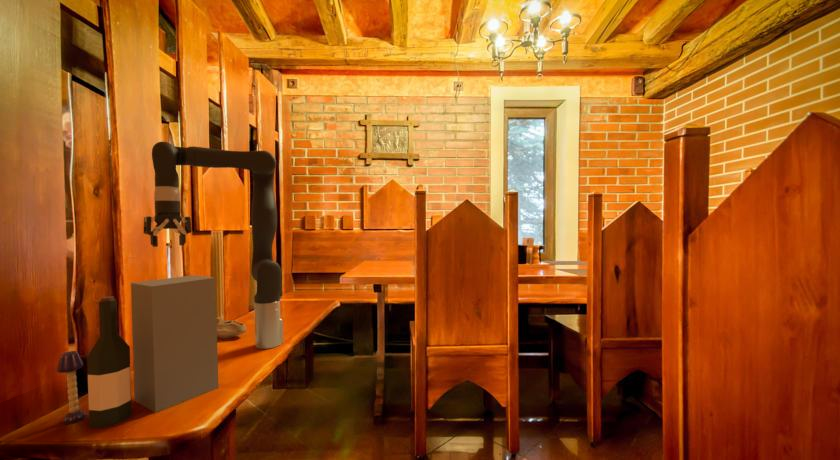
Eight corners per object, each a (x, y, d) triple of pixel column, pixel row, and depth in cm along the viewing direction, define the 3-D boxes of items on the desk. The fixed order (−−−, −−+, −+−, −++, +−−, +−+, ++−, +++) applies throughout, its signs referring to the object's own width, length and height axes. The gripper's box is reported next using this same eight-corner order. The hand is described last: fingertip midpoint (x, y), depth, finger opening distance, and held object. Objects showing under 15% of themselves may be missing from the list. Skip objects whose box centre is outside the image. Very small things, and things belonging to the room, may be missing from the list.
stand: (196, 379, 112) (193, 275, 112) (218, 387, 106) (215, 277, 105) (134, 401, 99) (130, 283, 98) (155, 412, 92) (151, 286, 92)
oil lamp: (240, 341, 149) (240, 321, 149) (204, 341, 150) (204, 321, 149) (254, 333, 160) (253, 314, 160) (220, 333, 161) (220, 314, 160)
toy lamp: (69, 426, 87) (66, 356, 86) (53, 424, 88) (51, 355, 87) (90, 415, 91) (88, 349, 91) (76, 414, 92) (73, 348, 92)
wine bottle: (96, 432, 84) (91, 302, 83) (83, 422, 88) (78, 298, 88) (139, 415, 91) (135, 295, 90) (124, 407, 95) (121, 292, 95)
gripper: (149, 198, 121) (150, 247, 121) (194, 200, 133) (195, 245, 134) (139, 199, 125) (140, 247, 125) (183, 201, 137) (185, 244, 137)
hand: (169, 246), depth 129 cm, fingers open, 8 cm apart
